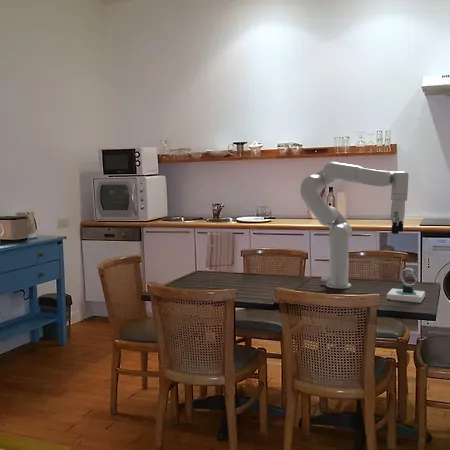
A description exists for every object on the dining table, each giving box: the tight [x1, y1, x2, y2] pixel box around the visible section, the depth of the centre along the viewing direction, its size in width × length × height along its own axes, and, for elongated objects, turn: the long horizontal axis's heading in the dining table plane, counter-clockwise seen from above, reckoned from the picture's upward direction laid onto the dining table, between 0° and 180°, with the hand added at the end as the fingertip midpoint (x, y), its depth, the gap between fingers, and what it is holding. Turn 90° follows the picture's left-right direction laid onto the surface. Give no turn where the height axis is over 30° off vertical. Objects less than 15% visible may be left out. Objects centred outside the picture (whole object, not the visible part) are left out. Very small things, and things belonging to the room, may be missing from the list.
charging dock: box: [386, 288, 426, 304], centre depth 274 cm, size 15×24×3 cm, turn 154°
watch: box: [399, 267, 419, 293], centre depth 270 cm, size 6×8×11 cm
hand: (397, 232), depth 281 cm, fingers open, 9 cm apart
